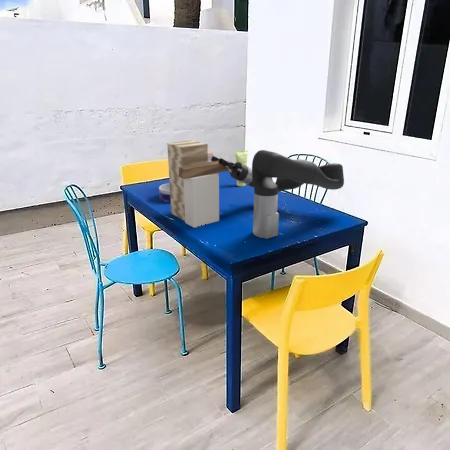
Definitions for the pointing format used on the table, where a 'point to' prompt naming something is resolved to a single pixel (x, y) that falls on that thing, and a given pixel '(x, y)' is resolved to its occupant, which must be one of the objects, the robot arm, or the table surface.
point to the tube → (242, 158)
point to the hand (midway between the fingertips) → (215, 159)
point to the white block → (201, 199)
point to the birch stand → (179, 157)
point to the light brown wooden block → (201, 169)
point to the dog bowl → (165, 192)
